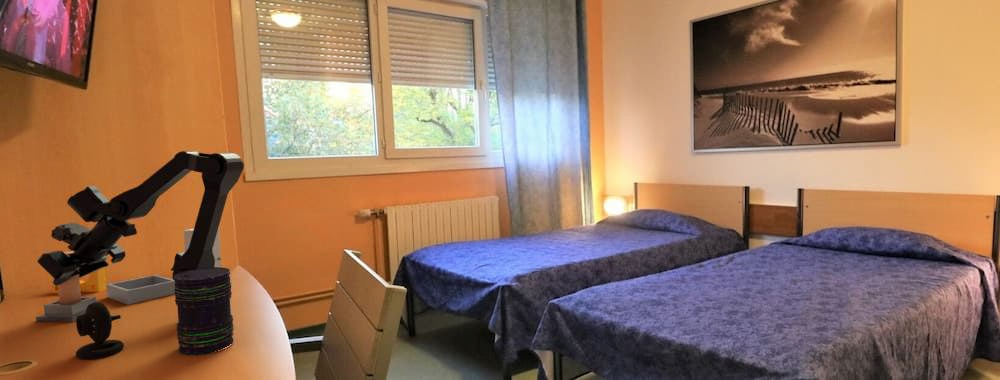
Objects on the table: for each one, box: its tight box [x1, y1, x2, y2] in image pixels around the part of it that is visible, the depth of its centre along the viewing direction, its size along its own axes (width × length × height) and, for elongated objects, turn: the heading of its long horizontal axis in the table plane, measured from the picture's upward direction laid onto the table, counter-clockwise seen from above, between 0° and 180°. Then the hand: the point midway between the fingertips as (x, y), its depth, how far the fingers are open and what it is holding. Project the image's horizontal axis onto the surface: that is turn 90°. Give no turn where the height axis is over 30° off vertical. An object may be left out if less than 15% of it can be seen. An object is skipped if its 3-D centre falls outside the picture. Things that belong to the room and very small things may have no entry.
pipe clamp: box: [51, 267, 107, 294], centre depth 146 cm, size 12×4×6 cm, turn 86°
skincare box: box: [183, 226, 222, 268], centre depth 162 cm, size 8×6×15 cm
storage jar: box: [174, 266, 235, 357], centre depth 105 cm, size 10×10×15 cm
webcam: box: [75, 301, 125, 360], centre depth 103 cm, size 8×8×10 cm
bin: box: [106, 274, 175, 305], centre depth 142 cm, size 12×12×4 cm
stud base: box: [35, 296, 97, 323], centre depth 126 cm, size 9×9×4 cm
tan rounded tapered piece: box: [58, 250, 82, 304], centre depth 125 cm, size 4×4×14 cm
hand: (63, 281), depth 125 cm, fingers closed on tan rounded tapered piece, 4 cm apart
